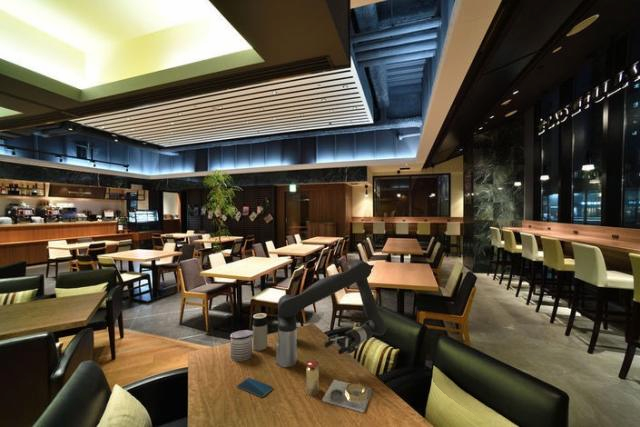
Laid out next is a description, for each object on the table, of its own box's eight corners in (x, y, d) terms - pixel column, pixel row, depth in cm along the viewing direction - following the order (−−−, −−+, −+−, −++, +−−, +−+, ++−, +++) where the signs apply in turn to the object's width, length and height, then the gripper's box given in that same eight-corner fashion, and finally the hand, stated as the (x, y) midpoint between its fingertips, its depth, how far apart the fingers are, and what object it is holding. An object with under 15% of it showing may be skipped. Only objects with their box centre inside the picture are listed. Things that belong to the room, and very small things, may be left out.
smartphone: (262, 399, 111) (262, 397, 111) (235, 388, 119) (235, 385, 119) (274, 389, 118) (274, 387, 118) (248, 378, 125) (248, 376, 125)
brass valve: (304, 393, 114) (304, 364, 114) (309, 386, 119) (309, 358, 119) (315, 397, 112) (315, 367, 112) (320, 389, 117) (320, 360, 117)
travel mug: (263, 351, 149) (263, 318, 150) (250, 350, 151) (250, 317, 151) (269, 344, 157) (269, 313, 157) (256, 343, 159) (256, 312, 159)
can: (229, 362, 139) (229, 338, 139) (231, 351, 150) (231, 329, 150) (252, 359, 141) (252, 336, 141) (252, 349, 152) (252, 327, 152)
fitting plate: (322, 401, 109) (322, 395, 110) (334, 381, 122) (334, 376, 122) (364, 412, 103) (364, 406, 103) (372, 390, 116) (372, 385, 116)
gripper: (344, 325, 139) (320, 335, 128) (366, 333, 129) (343, 345, 118) (344, 340, 139) (321, 351, 128) (367, 349, 129) (343, 363, 118)
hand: (331, 348), depth 123 cm, fingers open, 8 cm apart
